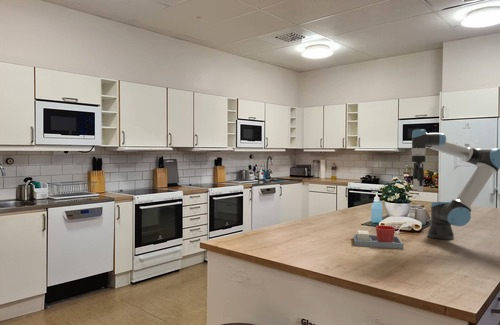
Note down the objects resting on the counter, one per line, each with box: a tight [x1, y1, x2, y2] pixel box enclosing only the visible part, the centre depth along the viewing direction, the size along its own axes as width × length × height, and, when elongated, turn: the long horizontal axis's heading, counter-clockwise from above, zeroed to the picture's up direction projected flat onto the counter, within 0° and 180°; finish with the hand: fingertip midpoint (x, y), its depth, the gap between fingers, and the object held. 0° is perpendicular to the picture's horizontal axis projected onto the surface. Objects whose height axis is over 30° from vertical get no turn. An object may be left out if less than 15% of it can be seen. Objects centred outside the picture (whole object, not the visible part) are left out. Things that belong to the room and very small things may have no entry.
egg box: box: [356, 229, 370, 241], centre depth 217 cm, size 10×6×6 cm, turn 166°
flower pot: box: [375, 225, 396, 243], centre depth 214 cm, size 11×11×10 cm
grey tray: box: [353, 233, 404, 251], centre depth 216 cm, size 18×26×4 cm
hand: (418, 190), depth 221 cm, fingers open, 13 cm apart
